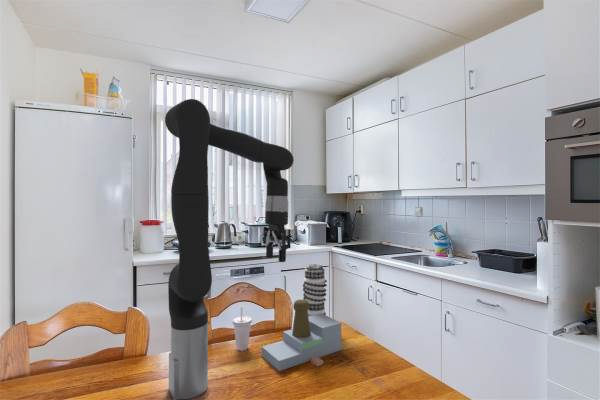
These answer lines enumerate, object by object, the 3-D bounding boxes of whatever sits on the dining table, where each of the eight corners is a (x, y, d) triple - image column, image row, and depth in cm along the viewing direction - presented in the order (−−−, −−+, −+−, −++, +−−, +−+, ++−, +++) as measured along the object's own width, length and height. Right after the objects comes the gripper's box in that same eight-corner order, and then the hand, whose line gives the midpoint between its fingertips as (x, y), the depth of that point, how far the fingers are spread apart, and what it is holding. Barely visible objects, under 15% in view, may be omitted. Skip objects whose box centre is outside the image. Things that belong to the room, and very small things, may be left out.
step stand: (279, 371, 91) (279, 340, 91) (261, 355, 101) (261, 327, 101) (341, 350, 105) (341, 323, 105) (321, 338, 114) (321, 313, 114)
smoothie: (228, 351, 104) (229, 308, 104) (238, 342, 110) (238, 302, 110) (246, 353, 102) (246, 310, 102) (254, 345, 108) (255, 304, 108)
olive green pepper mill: (311, 330, 106) (311, 298, 106) (310, 338, 100) (310, 303, 100) (293, 330, 106) (293, 297, 107) (291, 337, 100) (291, 303, 101)
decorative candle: (330, 334, 117) (330, 267, 118) (306, 336, 115) (306, 268, 115) (322, 325, 126) (322, 262, 126) (300, 327, 124) (300, 263, 124)
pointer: (316, 366, 94) (316, 363, 94) (308, 360, 98) (308, 357, 98) (323, 364, 96) (323, 360, 96) (314, 358, 99) (314, 355, 99)
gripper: (256, 209, 107) (255, 257, 107) (277, 210, 95) (276, 264, 95) (276, 209, 111) (275, 256, 111) (298, 210, 99) (297, 262, 99)
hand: (275, 259), depth 103 cm, fingers open, 8 cm apart
